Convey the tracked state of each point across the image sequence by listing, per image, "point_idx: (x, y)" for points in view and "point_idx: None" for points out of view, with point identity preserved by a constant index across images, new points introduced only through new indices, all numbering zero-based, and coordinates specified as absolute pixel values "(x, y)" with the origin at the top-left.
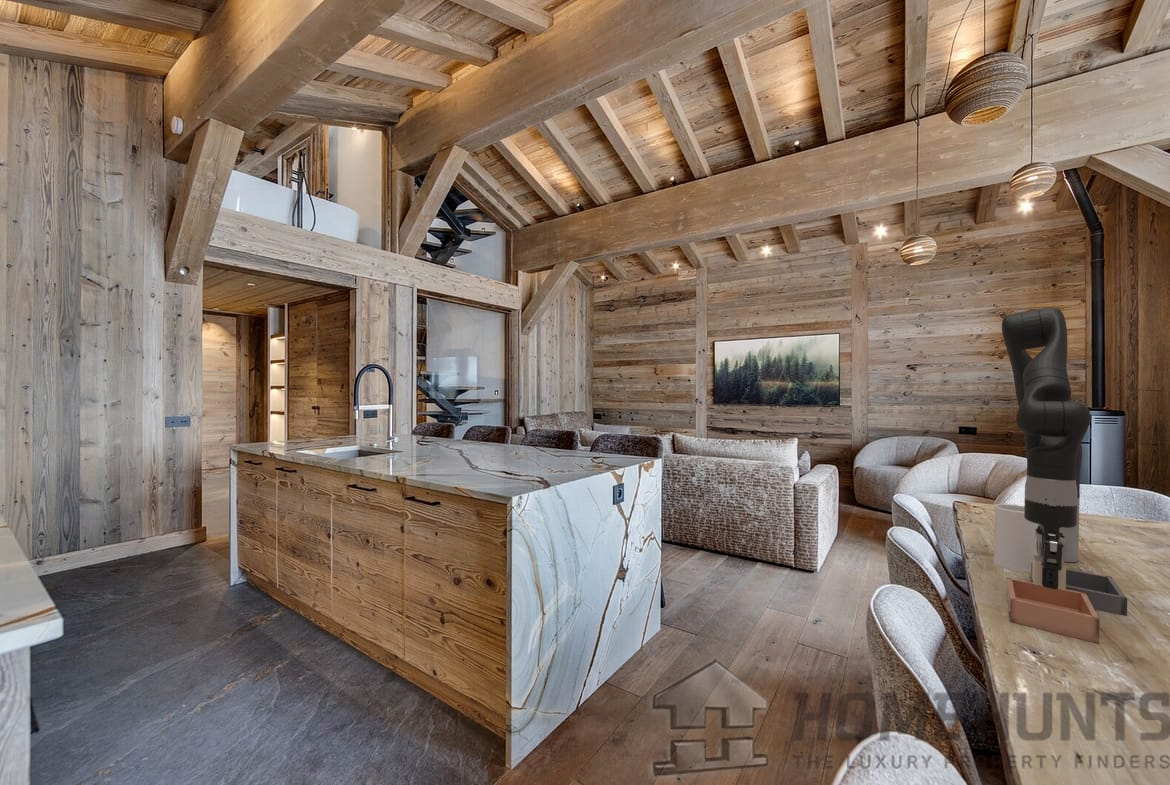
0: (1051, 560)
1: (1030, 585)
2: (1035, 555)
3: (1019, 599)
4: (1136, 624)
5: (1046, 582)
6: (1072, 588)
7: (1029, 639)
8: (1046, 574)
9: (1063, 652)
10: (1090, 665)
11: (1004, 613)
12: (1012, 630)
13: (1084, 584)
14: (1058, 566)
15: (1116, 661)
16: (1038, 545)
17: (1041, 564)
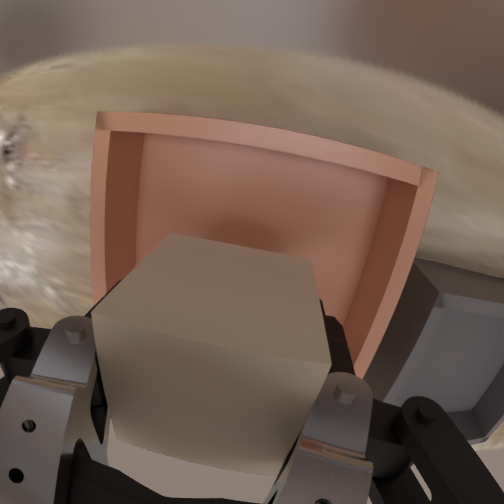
0: (204, 430)
1: (395, 251)
2: (313, 378)
3: (354, 189)
4: None
5: (115, 285)
6: (394, 377)
7: (52, 150)
8: (90, 310)
9: (33, 209)
10: (15, 241)
11: (212, 108)
12: (82, 116)
13: (495, 389)
14: (5, 378)
15: (60, 297)
16: (17, 460)
17: (63, 326)
